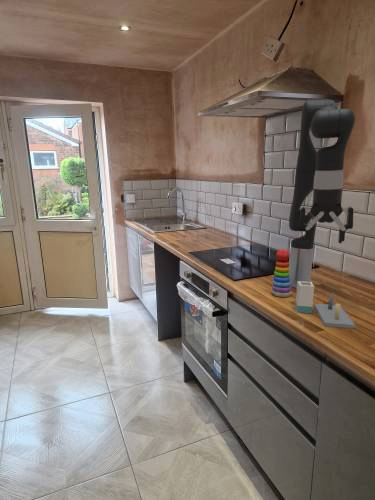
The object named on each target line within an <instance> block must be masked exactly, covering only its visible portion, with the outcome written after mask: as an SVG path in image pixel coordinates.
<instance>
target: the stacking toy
mask: <svg viewBox="0 0 375 500" xmlns="http://www.w3.org/2000/svg"><path fill="white" fill-rule="evenodd" d="M275 258H276V259H277V261H276V262H275V265H276V266H275V267H274V269H275V270H274V272H273V274H274V275H273V280H272V285H271V290H270V293H271V295H273V296H275V297H279V298H288V297H290V296H291V295H292V291H291V290H292V287H291V286H290V285H291V282H290V276H289V275H290V273H289V262H290V261H288V260H290V252H289V251H288V249H285V248H282V249H281V248H280V249H279V250H278V251H277V252H276V257H275Z"/></svg>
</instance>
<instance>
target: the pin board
mask: <svg viewBox="0 0 375 500" xmlns="http://www.w3.org/2000/svg"><path fill="white" fill-rule="evenodd" d="M328 296H329V297H328V304H327V303H325V304H323V303H314V304H313V308H314V310H315V311H316V313H317V315H318V317H319V319H320V320H321V322H322V324H323V325H324V327H328V328H329V327H331V328H340V329H341V328H344V329H345V328H346V329H356V324H355V323H354V321H353V320H352V319H351V318H350V316H349V315H348V314H347V312H346V311H345V310H344V309H343V307H342V306H341V303H335V304H334V297H335V295H334V294H328Z"/></svg>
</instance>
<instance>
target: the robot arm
mask: <svg viewBox="0 0 375 500" xmlns="http://www.w3.org/2000/svg"><path fill="white" fill-rule="evenodd" d="M355 123H356V117H355V114H354V112H353V110H351V109H350V108H339V109H338V106H337V102H336V101H335V100H333V99H307V100H305V101H304V103H303V105H302V111H301V120H300V133H299V134H300V135H299V147H298V154H297V155H298V156H297V160H296V166H295V176H294V186H293V187H294V189H293V196H292V202H291V207H290V214H289V218H288V220H289V221H288V226H289V230H291V231H294V232H305V233H304V235H302V236H299V237H295V238H293V239H291V241H290V249H289V251H290V252H289V255H290V256H289V261H288V262H289V266H288V267H289V273H290V275H289V276H290V282H291V285H290V286H291V288H295V289H297V282H298V281H303V282H311V277H312V276H311V275H312V267H313V266H312V265H313V257H314V245H315V239H316V238H315V236H316V230H317V225H318V224H317V222H318V223H322V224H323V223H330V224H331V223H336V225H337V226H338V227H339V229H338V241H337V242H338V244H343V242H345V237H346V231H347V230H351V229H353V228H354V208H353V207H352V206H350V205H349V206H347V207H342V201H343V200H342V199H343V187H344V162H345V153H346V149H347V145H348V142H349V139H350V137H351V134H352V131H353V129H354V126H355ZM311 135H312V136H313V137H314V138H316V139H334V138H335V139H337V140H336V142H335V143H334V144H332V145H329V146H327V147H323V148H320V149H318V150H316V148H315V146H314V143H313V140H312V139H311ZM312 192H313V193H312ZM311 193H312V205H311V207H306V206H302V205H303V203H304V201H305V200H306V198H307V197H308V196H309V195H310V194H311ZM342 213H344V215H345V216H347V217H346V218H347V219H346V223H345V224H344V223H343V222H342V221H341V219H340V218H339V216H340V215H341V214H342Z"/></svg>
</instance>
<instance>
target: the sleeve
mask: <svg viewBox="0 0 375 500" xmlns="http://www.w3.org/2000/svg"><path fill="white" fill-rule="evenodd" d="M295 293H296V295H295V307H294V308H295V310H296V313H299V314H300V313H301V314H312V312H313V306H314V304H313V303H314V294H315V284H313V282H312V281H310V282H303V281H298V282H297V288H296V292H295Z"/></svg>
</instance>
